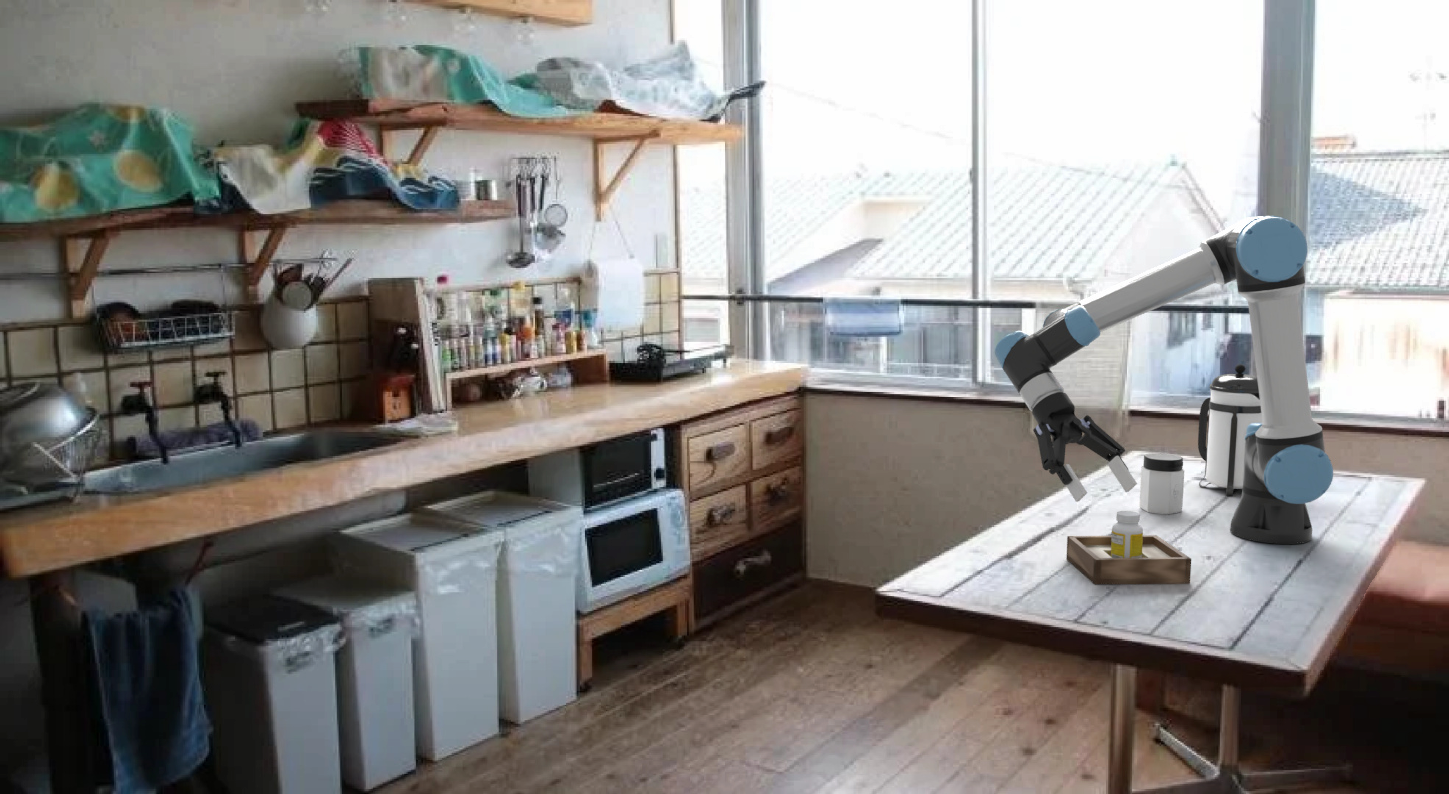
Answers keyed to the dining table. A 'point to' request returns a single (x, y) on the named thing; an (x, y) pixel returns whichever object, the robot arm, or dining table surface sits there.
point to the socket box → (1128, 562)
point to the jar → (1162, 483)
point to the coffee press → (1228, 427)
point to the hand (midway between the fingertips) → (1107, 492)
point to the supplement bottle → (1127, 536)
